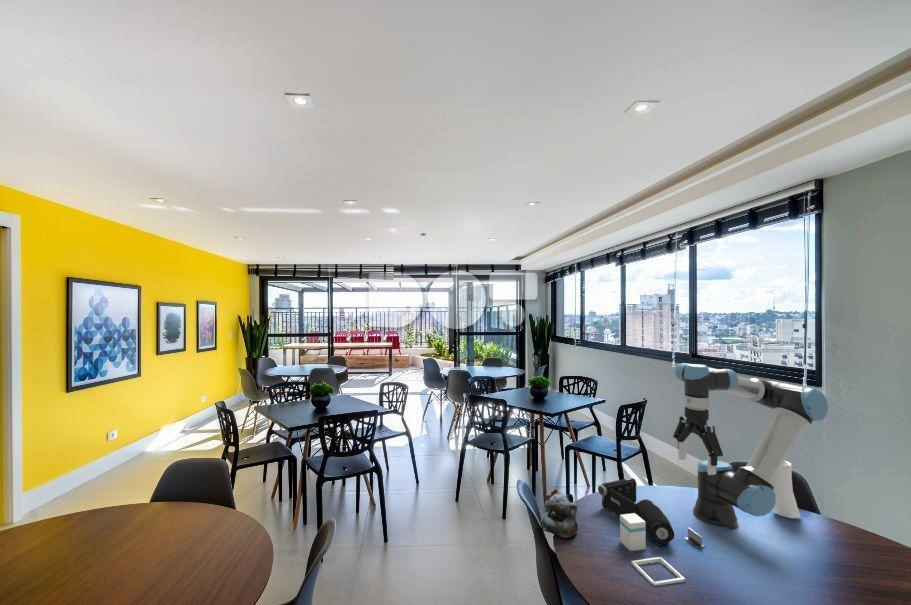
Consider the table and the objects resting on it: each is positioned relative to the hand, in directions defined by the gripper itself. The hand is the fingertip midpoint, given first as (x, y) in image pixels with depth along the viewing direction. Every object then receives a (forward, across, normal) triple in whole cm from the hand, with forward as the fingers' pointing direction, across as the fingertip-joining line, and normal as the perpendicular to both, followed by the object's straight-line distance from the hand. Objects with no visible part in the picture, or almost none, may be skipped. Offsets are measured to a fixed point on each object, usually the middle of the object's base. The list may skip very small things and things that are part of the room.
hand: (696, 466), depth 146 cm
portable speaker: (+29, 0, -12) cm, 31 cm away
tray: (+28, +12, -26) cm, 40 cm away
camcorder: (+28, -24, -10) cm, 38 cm away
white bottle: (+28, -11, +51) cm, 59 cm away
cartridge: (+28, -3, -24) cm, 37 cm away
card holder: (+28, 0, -1) cm, 28 cm away
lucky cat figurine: (+28, -18, -45) cm, 56 cm away
